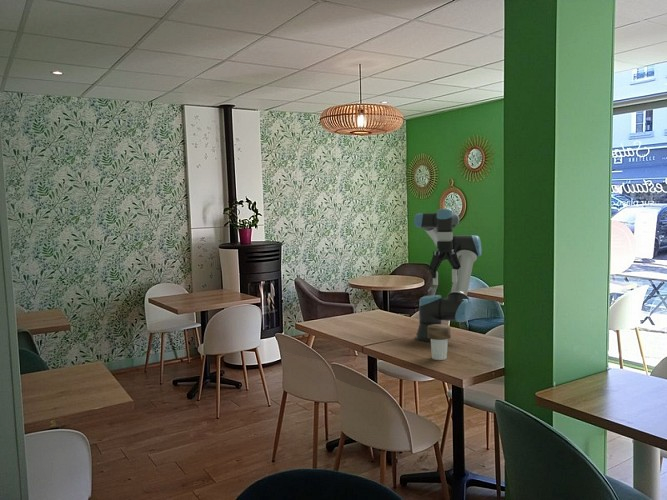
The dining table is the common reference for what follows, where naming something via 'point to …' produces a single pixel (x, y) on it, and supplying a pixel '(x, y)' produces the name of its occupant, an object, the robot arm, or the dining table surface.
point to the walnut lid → (439, 331)
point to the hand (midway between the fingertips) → (445, 283)
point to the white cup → (439, 349)
